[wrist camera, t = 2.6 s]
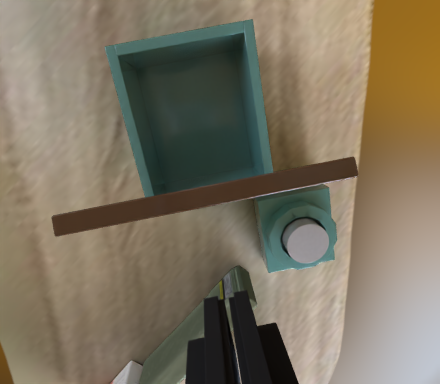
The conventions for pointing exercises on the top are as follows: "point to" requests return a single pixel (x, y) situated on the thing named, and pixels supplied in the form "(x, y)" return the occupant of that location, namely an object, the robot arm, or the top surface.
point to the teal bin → (193, 106)
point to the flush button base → (288, 212)
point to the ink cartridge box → (129, 374)
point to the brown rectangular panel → (204, 196)
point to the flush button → (305, 240)
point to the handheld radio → (191, 333)
